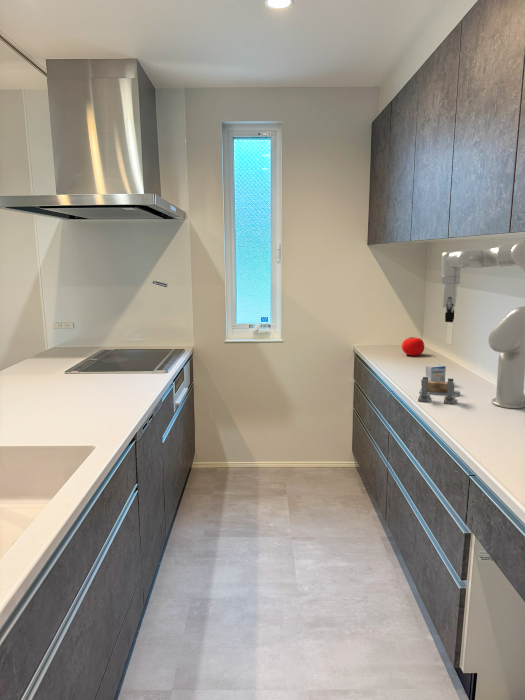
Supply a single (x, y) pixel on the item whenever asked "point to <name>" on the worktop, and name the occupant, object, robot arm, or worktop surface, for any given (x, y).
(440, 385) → the tan wooden bar
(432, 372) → the medicine box
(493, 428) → the worktop surface
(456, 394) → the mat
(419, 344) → the tomato
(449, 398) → the stand
